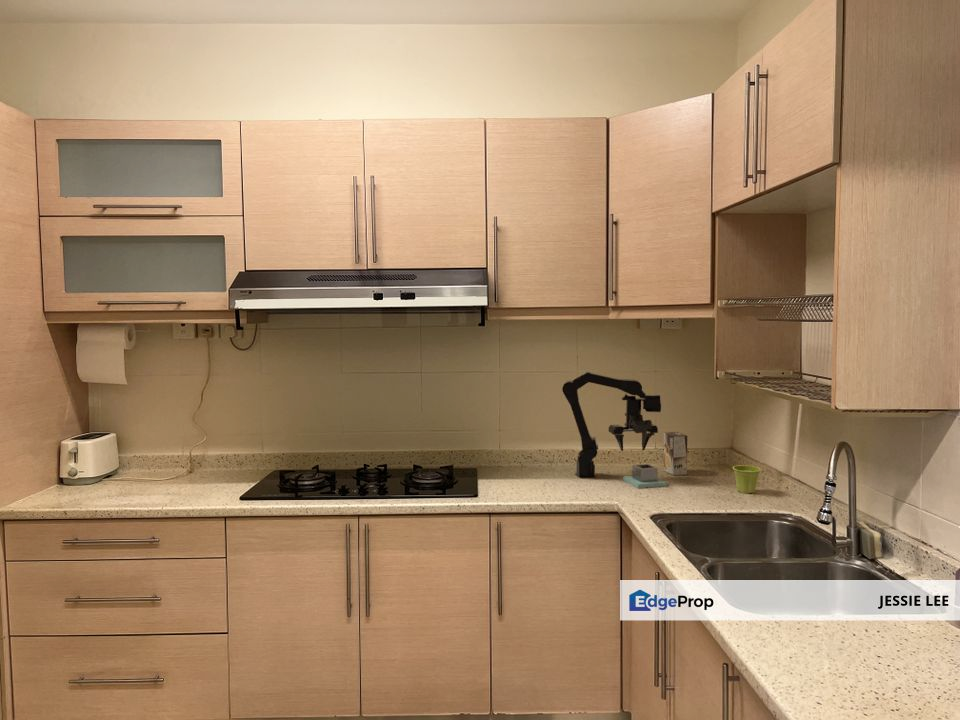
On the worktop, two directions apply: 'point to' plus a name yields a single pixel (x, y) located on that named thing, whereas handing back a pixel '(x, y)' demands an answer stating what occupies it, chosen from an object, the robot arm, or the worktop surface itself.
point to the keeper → (644, 484)
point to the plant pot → (746, 478)
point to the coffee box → (675, 453)
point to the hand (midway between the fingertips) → (632, 450)
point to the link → (644, 473)
